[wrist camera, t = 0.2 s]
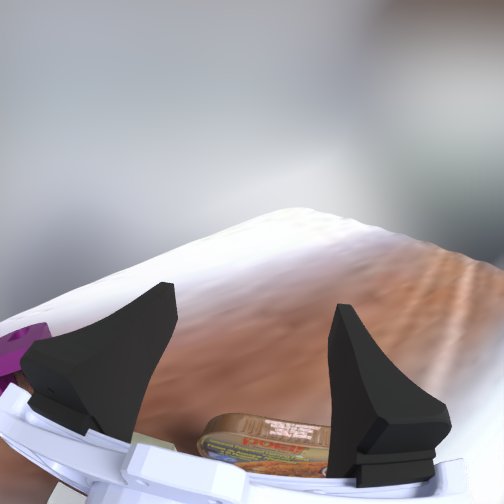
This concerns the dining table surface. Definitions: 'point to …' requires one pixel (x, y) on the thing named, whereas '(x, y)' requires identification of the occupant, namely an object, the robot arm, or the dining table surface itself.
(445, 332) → the dining table surface
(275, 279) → the dining table surface
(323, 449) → the tin
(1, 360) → the mounting bracket
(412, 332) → the dining table surface
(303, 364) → the dining table surface
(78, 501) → the white block
